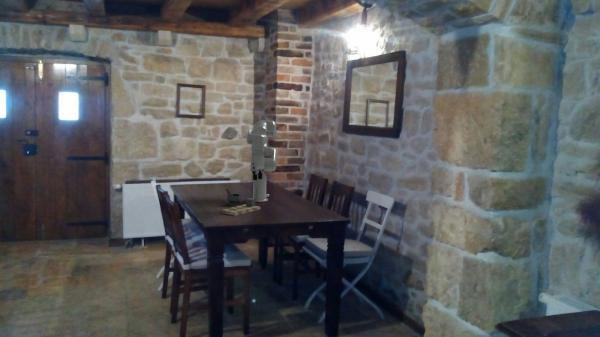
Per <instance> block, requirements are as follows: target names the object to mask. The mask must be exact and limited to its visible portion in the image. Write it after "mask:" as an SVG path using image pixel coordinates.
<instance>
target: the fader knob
mask: <svg viewBox="0 0 600 337" xmlns="http://www.w3.org/2000/svg"><path fill="white" fill-rule="evenodd" d="M252 198H253V197H252ZM252 198H251V197H250V198H249V197H248V198H246V199H245V204H246V206H256V199H252Z"/></svg>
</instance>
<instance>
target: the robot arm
mask: <svg viewBox="0 0 600 337" xmlns="http://www.w3.org/2000/svg"><path fill="white" fill-rule="evenodd" d="M276 136H277V124H276V122H275V121H274V120H270V119H269V120H268V119H261V120H258V121H257V122H256V124H255V127H254V128H252V129H250V130H248V132H247V135H246V144H248V145H252V155H251V157H250V171H251V173H252V180H253V186H252V187H253V188H252V199H256V202H257V203H259V202H260V203H261V202H262V203H265V202H268V201H269V198H268V197H270V194H269V193H267V175H266V173H265V172H275V171H276V169H277V162H278V161H277V160H278V151H277V149H276V148H275V147H273V146H272V147H270V146H268V139H269V138H275V137H276Z"/></svg>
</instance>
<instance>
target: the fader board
mask: <svg viewBox="0 0 600 337" xmlns="http://www.w3.org/2000/svg"><path fill="white" fill-rule="evenodd" d="M259 210H261V205H260V206H259V205H255V206H246V203H245V204H242V205H241V204H240V205H235V206H233V207H229V208H228V207H227V208H223V209H220V214H225V215H230V216H239V215H243V214H246V213H250V212H252V213H253V212H256V211H259Z"/></svg>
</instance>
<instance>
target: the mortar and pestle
mask: <svg viewBox="0 0 600 337" xmlns="http://www.w3.org/2000/svg"><path fill="white" fill-rule="evenodd" d="M225 191H226V193H227V200H228V202H229V206H233V207H236V206H239V203H240V201H241V199H242V195H241V194H240V193H233V192H231V190H230V188H229V187H227V188H226V189H225Z"/></svg>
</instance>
